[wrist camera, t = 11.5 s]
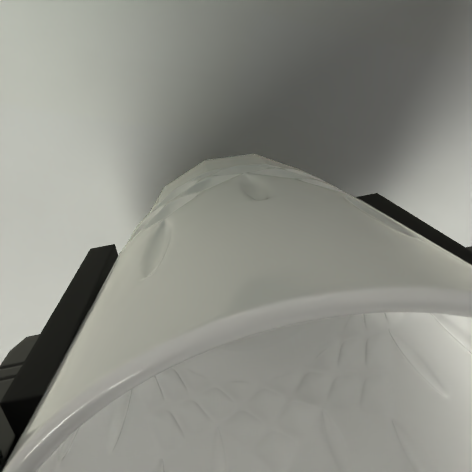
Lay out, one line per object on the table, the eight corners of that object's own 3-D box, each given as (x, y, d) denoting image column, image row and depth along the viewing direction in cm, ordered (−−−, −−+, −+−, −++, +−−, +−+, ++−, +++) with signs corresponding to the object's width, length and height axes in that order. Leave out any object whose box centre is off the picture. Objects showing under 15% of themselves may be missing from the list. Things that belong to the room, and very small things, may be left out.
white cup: (271, 380, 16) (382, 797, 7) (79, 293, 14) (-146, 726, 5) (399, 212, 14) (807, 476, 5) (198, 81, 12) (224, 92, 3)
